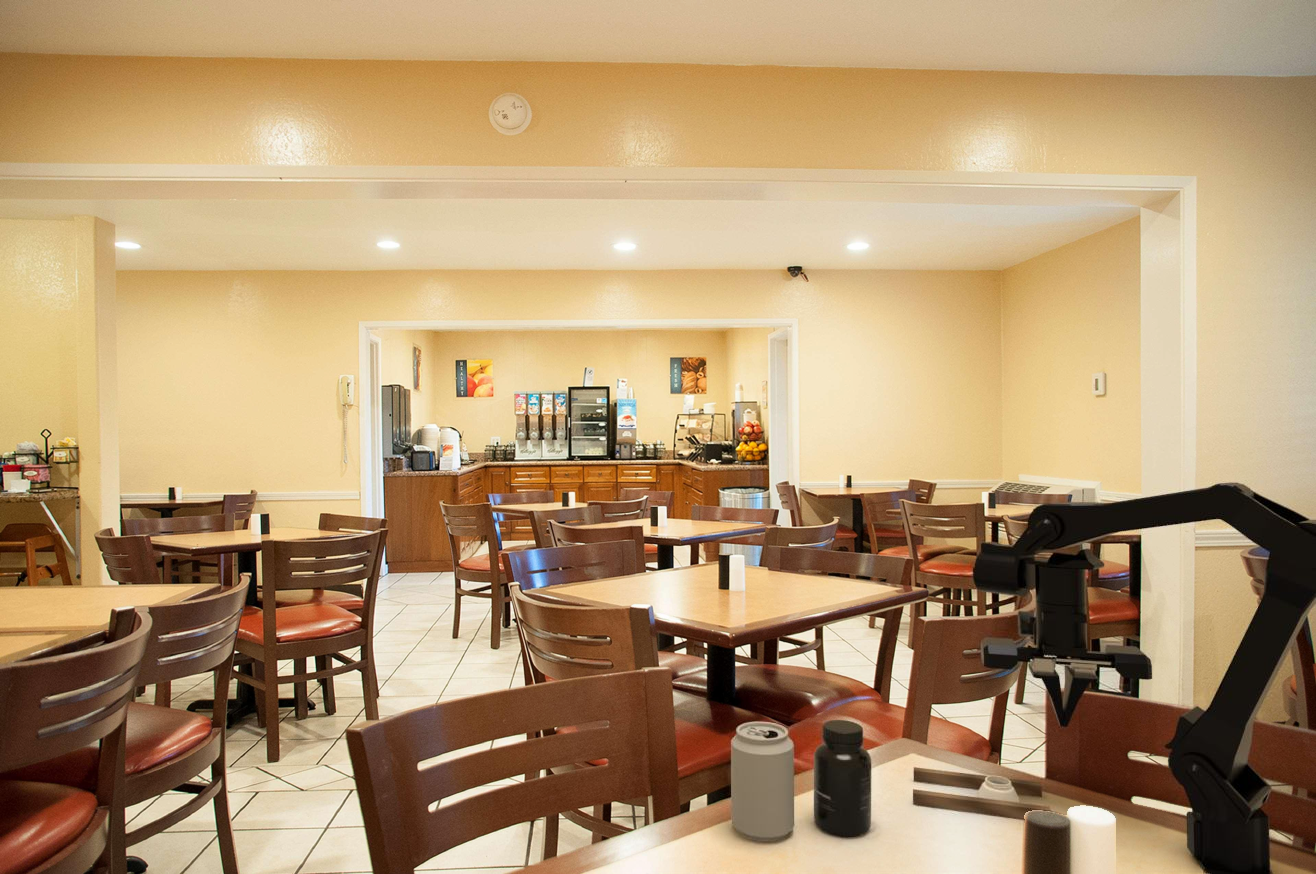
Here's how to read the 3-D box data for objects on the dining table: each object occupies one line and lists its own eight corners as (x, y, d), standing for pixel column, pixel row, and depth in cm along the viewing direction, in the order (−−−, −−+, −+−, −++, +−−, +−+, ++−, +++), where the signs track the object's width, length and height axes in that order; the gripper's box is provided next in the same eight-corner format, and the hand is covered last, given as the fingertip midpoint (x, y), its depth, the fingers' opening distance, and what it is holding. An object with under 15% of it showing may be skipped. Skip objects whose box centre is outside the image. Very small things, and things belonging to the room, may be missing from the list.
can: (793, 847, 89) (792, 741, 90) (727, 841, 91) (727, 737, 91) (795, 818, 97) (794, 720, 97) (734, 812, 98) (734, 716, 99)
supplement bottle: (806, 831, 93) (805, 729, 94) (822, 808, 99) (821, 713, 100) (864, 844, 90) (863, 739, 90) (877, 820, 96) (876, 721, 97)
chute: (1040, 793, 104) (1040, 782, 104) (1051, 823, 95) (1051, 810, 95) (913, 778, 109) (913, 767, 109) (912, 804, 100) (912, 792, 100)
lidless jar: (984, 791, 105) (972, 804, 101) (984, 769, 105) (971, 781, 101) (1024, 802, 102) (1013, 815, 98) (1024, 779, 102) (1012, 791, 98)
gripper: (1128, 594, 104) (1131, 713, 104) (977, 588, 110) (979, 700, 110) (1151, 610, 94) (1154, 742, 93) (983, 602, 99) (985, 726, 99)
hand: (1063, 725), depth 99 cm, fingers closed
